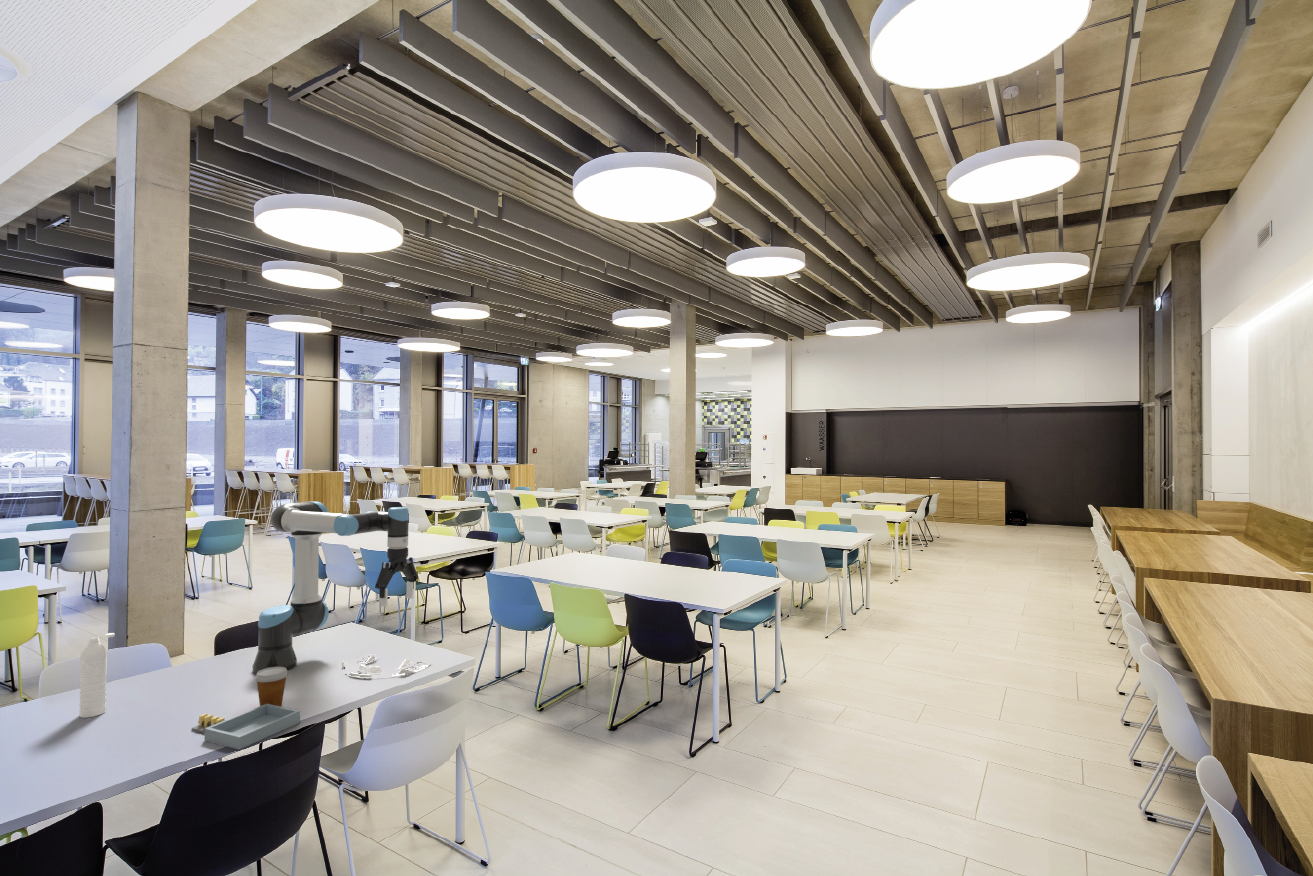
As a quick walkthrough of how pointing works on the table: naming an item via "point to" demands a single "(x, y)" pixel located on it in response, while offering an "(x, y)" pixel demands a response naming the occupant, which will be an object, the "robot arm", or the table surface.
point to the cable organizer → (378, 670)
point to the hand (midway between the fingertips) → (397, 602)
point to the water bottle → (93, 678)
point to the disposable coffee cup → (271, 685)
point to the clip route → (206, 722)
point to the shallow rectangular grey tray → (252, 726)
